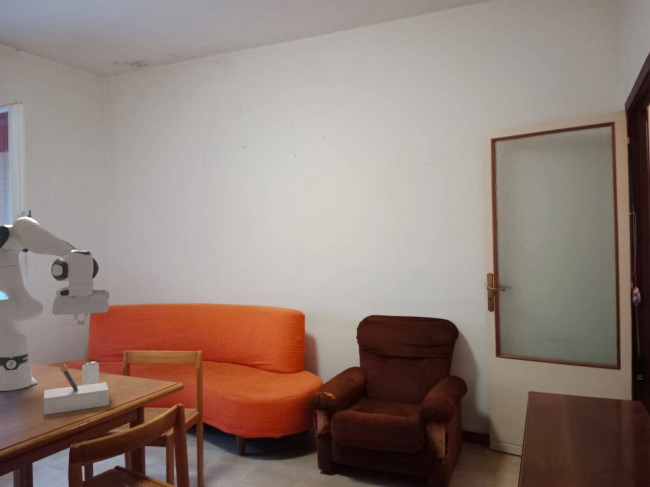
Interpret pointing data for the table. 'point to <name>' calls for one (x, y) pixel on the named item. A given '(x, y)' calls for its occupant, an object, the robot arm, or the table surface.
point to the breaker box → (75, 398)
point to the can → (90, 373)
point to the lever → (68, 376)
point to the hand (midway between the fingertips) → (80, 324)
